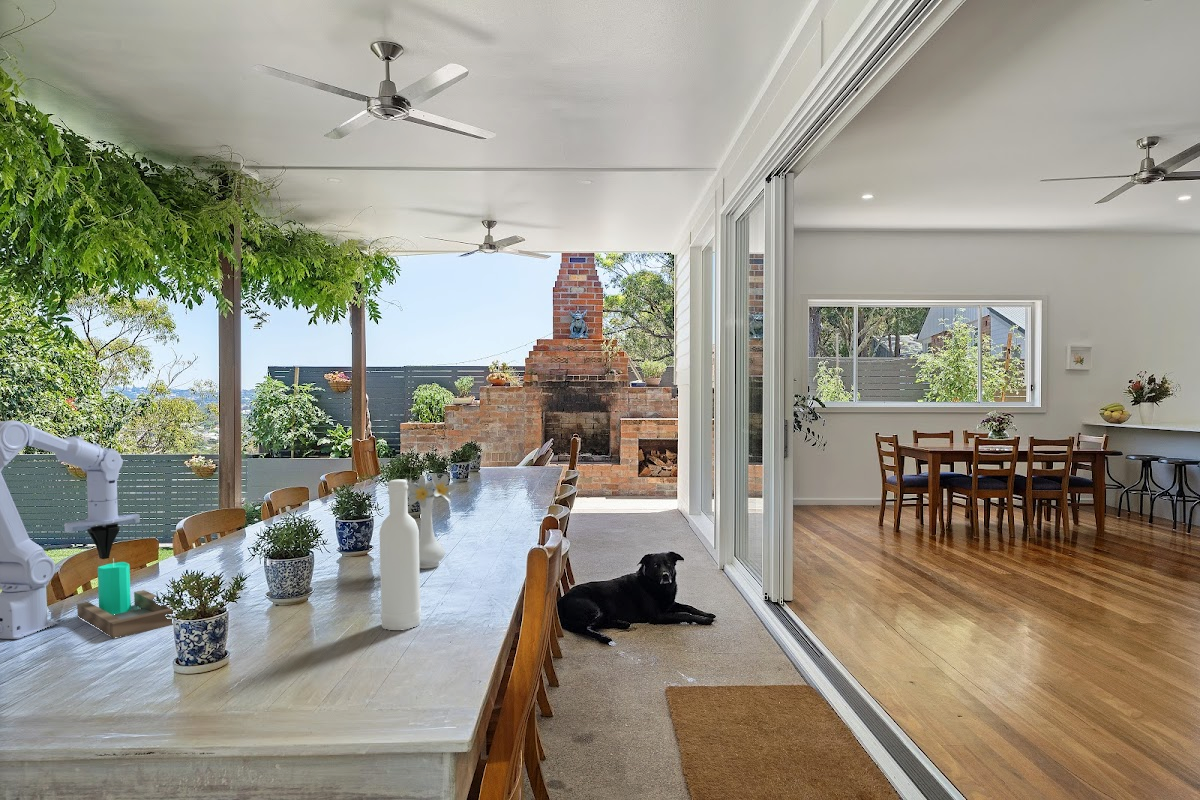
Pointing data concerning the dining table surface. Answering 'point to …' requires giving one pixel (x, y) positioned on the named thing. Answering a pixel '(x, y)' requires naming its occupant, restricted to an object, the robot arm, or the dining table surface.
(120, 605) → the candle
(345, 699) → the dining table surface
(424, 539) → the flower vase
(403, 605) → the bottle
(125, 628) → the u rest
